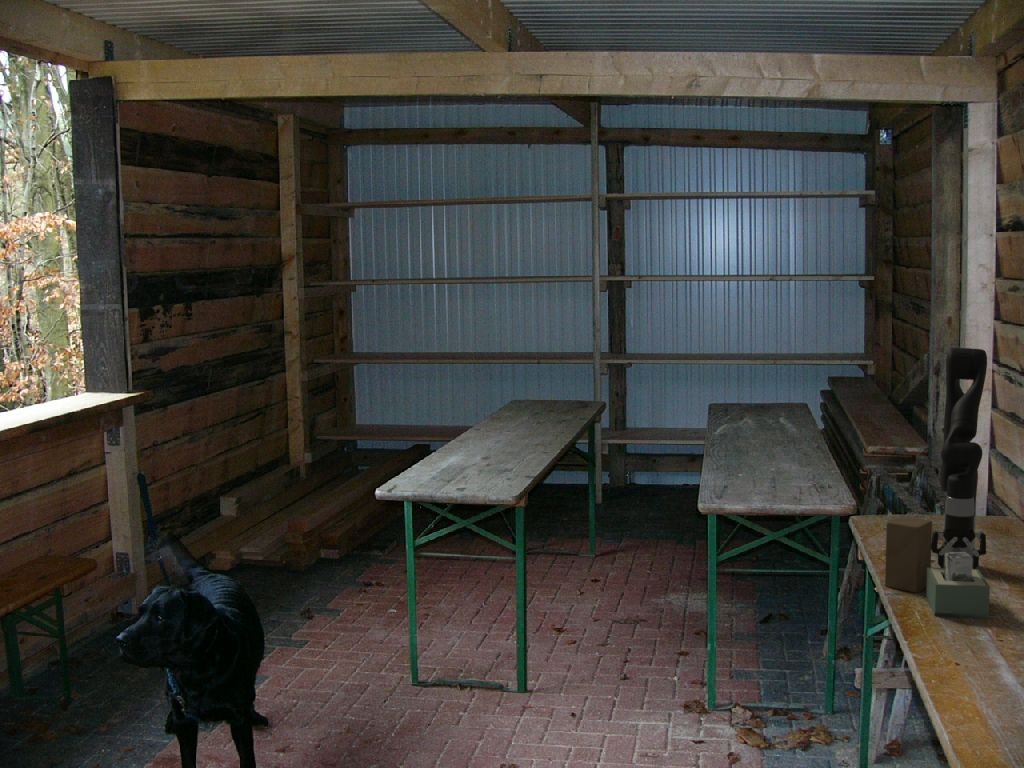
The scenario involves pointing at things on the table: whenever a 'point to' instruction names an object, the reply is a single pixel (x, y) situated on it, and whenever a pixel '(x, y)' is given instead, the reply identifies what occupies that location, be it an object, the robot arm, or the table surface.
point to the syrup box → (958, 567)
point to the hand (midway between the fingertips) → (957, 567)
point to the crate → (957, 595)
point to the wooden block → (908, 553)
